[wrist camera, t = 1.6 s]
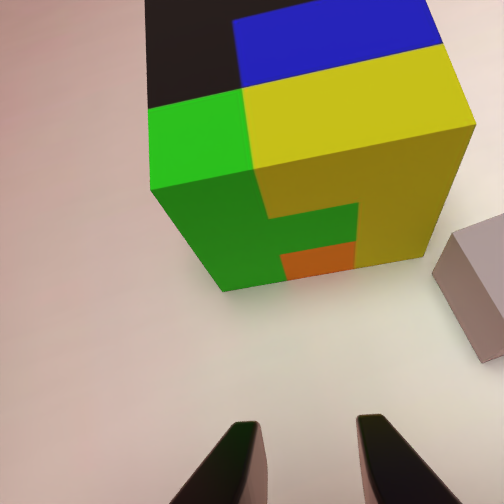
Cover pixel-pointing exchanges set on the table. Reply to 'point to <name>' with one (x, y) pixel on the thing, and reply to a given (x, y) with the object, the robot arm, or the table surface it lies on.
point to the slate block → (476, 284)
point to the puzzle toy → (301, 132)
